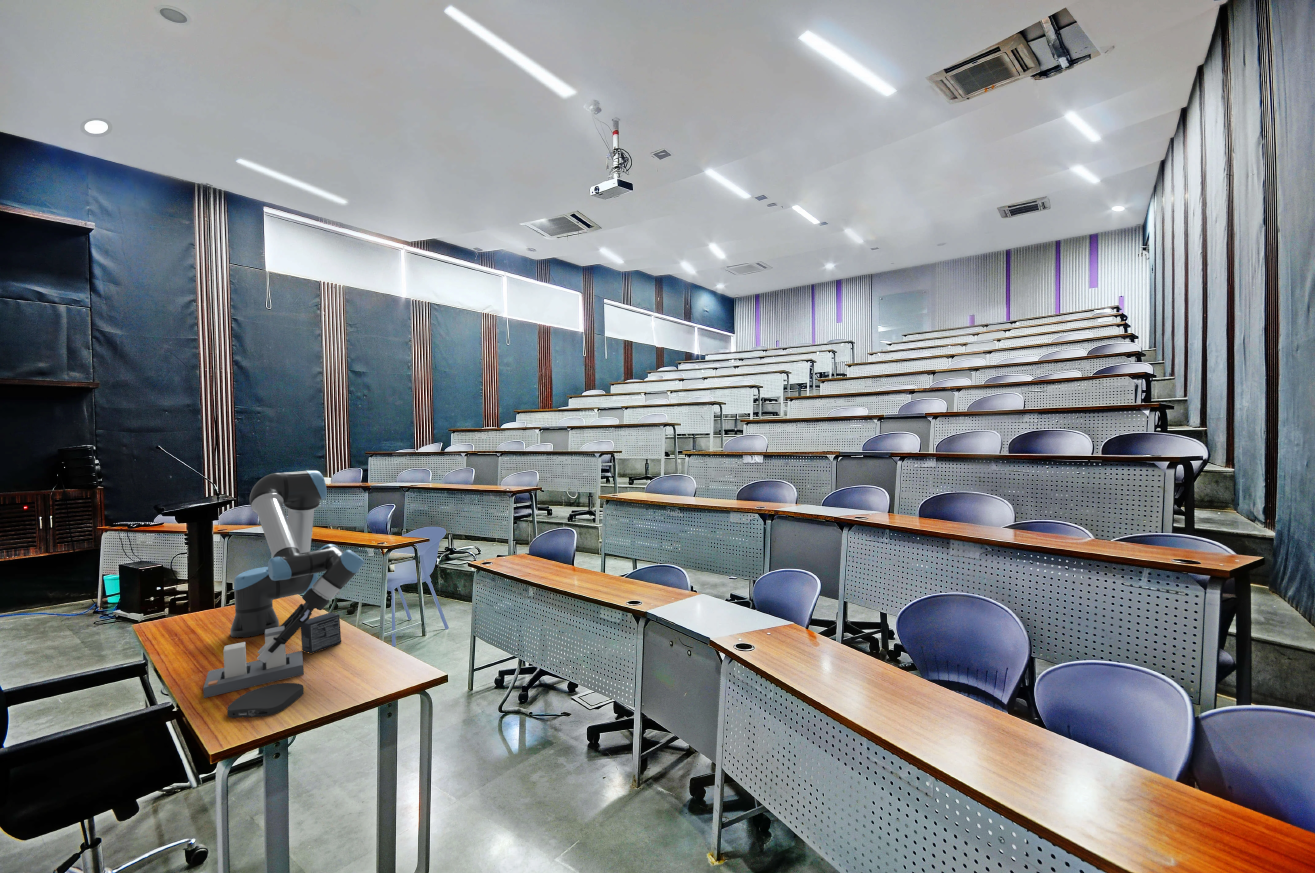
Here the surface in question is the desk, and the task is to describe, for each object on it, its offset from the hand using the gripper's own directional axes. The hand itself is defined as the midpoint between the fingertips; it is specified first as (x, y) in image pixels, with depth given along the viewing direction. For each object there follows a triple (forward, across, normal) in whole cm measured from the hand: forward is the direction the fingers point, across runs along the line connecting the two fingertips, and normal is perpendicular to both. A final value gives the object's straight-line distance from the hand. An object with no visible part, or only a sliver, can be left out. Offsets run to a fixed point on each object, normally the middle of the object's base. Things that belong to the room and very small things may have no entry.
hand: (261, 657), depth 169 cm
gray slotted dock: (+5, 0, -3) cm, 6 cm away
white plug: (0, 0, -5) cm, 5 cm away
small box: (-7, +16, -16) cm, 24 cm away
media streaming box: (+4, -23, -6) cm, 24 cm away
